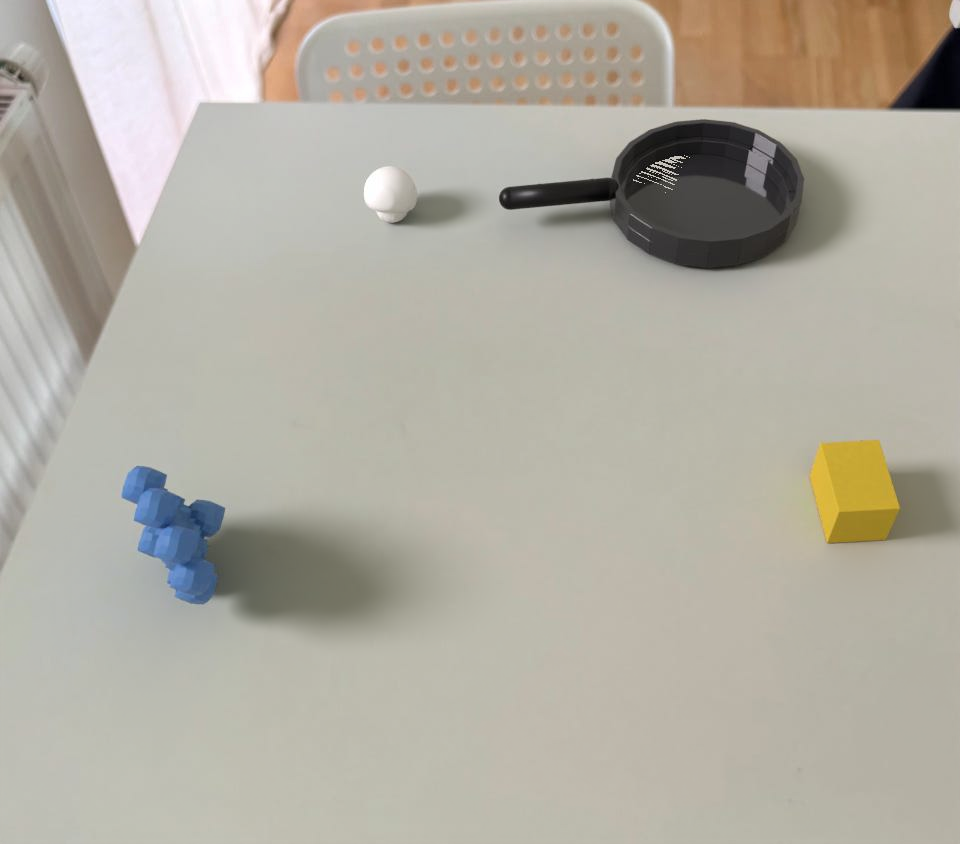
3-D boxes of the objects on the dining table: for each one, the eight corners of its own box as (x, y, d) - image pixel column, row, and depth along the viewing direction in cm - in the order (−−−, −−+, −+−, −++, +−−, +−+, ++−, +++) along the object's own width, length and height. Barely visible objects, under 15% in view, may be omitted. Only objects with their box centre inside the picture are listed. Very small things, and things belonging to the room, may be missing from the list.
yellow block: (866, 472, 85) (879, 439, 82) (886, 540, 82) (900, 508, 79) (809, 475, 86) (820, 442, 82) (826, 543, 82) (838, 511, 79)
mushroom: (361, 230, 104) (354, 185, 100) (375, 197, 106) (368, 152, 102) (412, 235, 103) (407, 191, 99) (424, 202, 106) (420, 157, 101)
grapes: (277, 609, 81) (240, 513, 71) (192, 653, 79) (142, 561, 69) (213, 503, 87) (171, 400, 77) (133, 541, 85) (79, 442, 75)
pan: (772, 143, 108) (778, 111, 105) (816, 262, 99) (825, 230, 96) (598, 159, 108) (599, 128, 105) (626, 280, 98) (628, 249, 96)
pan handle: (616, 190, 102) (617, 172, 100) (619, 204, 101) (621, 186, 99) (498, 201, 102) (497, 183, 100) (500, 215, 101) (499, 197, 99)
